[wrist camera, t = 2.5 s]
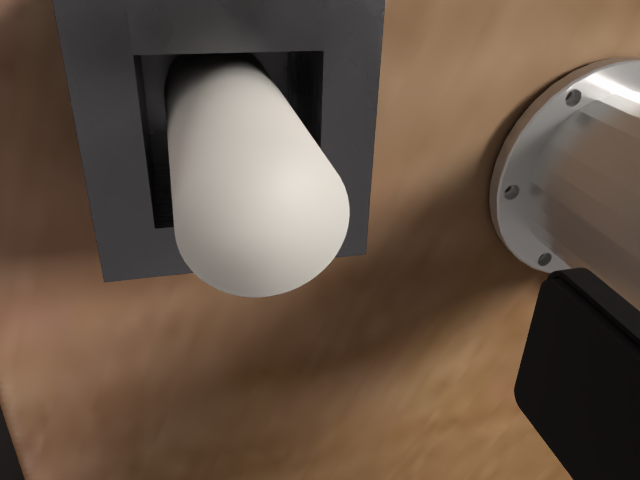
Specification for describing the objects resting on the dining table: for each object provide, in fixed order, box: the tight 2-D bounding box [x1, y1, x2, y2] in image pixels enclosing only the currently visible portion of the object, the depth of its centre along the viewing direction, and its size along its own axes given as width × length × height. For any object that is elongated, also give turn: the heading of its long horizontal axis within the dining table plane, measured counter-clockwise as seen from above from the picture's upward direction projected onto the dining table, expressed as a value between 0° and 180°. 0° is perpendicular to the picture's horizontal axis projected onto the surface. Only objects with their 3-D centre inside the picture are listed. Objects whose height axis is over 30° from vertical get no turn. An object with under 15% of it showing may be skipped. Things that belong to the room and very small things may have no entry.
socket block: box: [52, 0, 385, 282], centre depth 23 cm, size 10×10×7 cm
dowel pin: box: [164, 52, 350, 297], centre depth 20 cm, size 4×4×12 cm
